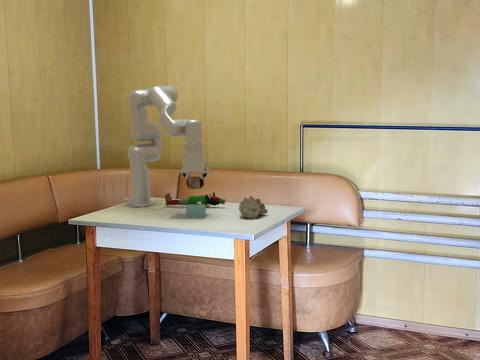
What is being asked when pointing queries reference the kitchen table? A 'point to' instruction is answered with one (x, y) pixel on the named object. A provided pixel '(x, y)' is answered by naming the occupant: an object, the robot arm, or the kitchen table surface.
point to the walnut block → (194, 182)
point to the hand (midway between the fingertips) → (195, 187)
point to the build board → (183, 216)
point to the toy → (194, 200)
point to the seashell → (252, 208)
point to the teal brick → (196, 211)
